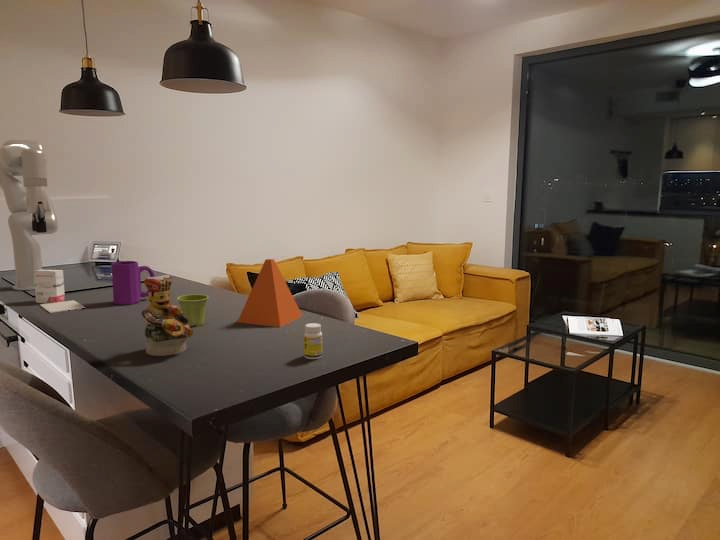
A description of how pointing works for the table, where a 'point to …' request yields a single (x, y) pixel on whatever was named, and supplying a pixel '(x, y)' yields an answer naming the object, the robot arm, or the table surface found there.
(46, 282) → the ink box
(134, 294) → the mug
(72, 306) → the mat
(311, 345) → the supplement bottle
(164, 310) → the figurine
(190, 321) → the plant pot
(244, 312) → the pyramid
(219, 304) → the table surface
